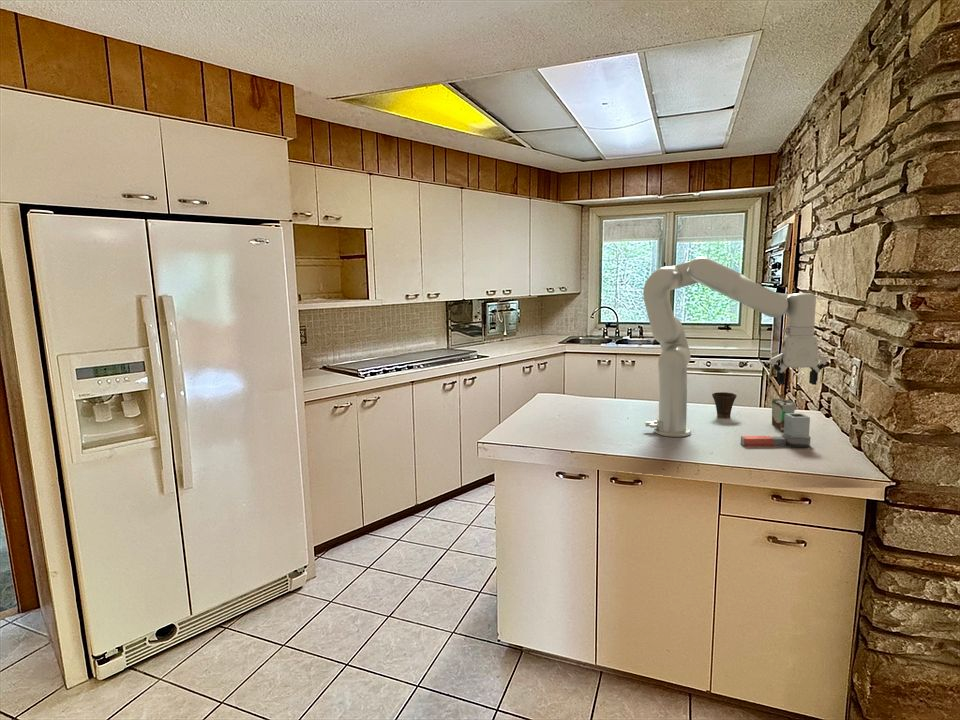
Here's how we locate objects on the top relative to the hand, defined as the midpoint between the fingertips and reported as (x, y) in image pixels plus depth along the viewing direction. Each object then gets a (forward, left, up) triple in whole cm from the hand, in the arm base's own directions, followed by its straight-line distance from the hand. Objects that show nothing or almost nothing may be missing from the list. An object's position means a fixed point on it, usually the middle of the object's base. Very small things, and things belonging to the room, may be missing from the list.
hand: (796, 384), depth 174 cm
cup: (-11, +35, -21) cm, 42 cm away
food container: (+5, +18, -21) cm, 28 cm away
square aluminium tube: (0, -1, -17) cm, 17 cm away
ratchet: (-6, -1, -20) cm, 21 cm away
